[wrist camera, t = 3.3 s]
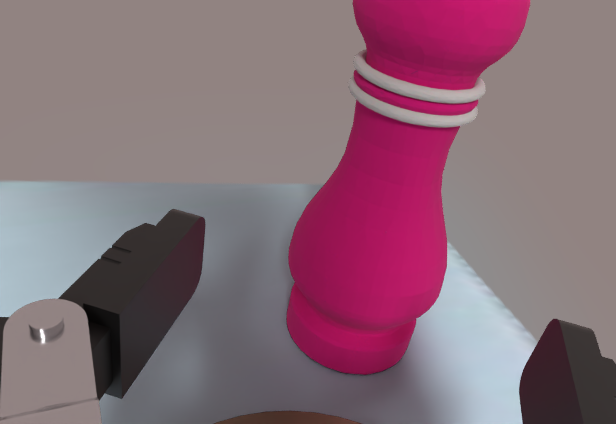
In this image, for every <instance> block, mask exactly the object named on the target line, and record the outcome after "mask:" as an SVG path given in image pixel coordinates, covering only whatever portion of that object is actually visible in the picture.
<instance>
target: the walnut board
mask: <svg viewBox="0 0 616 424" xmlns="http://www.w3.org/2000/svg"><path fill="white" fill-rule="evenodd" d="M214 424H361V423H358V422H354V421H351V420H348V419H344V418H341V417H337V416H331V415H326V414H320V413H314V412H301V411H273V412H261V413H255V414H248V415H242V416H238V417H234V418H231V419H227V420H224V421H220V422H216V423H214Z"/></svg>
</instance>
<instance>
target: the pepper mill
mask: <svg viewBox="0 0 616 424" xmlns="http://www.w3.org/2000/svg"><path fill="white" fill-rule="evenodd" d="M353 7H354V14H355V19H356V23H357V25H358V27H359V30H360V32H361V33H362V36H363V38H364V41H365V43H366V48H367V49H366V50H363V51H361V52H359V53H358V54H357V55H356V56H355V57H354V61H353V62H354V67H355V69H356V70H355V71H354V76H353V77H352V78H351V79H350V81H349V89H350V92H351V94H352V95H353V96H354V97H355V98H356V107H355V114H354V122H353V127H352V130H351V133H350V137H349V140H348V144H347V147H346V151H345V154H344V156H343V157H342V159H341V161H340V163H339V165H338V167H337V169H336V170H335V171H334V173H333V174H332V176H331V177H330V178H329V180H328V181H327V182H326V183H325V185H324V186H323V187H322V188H321V189H320V190H319V192H318V193H317V194H316V195H315V196H314V198H313V199H312V200H311V201H310V202H309V204H308V205H307V206H306V208H305V210H304V212H303V213H302V215H301V217H300V219H299V221H298V222H297V224H296V227H295V230H294V233H293V236H292V240H291V243H290V247H289V256H288V258H289V267H290V271H291V275H292V277H293V279H294V281H295V283H294V285H293V287H292V291H291V296H290V301H289V305H288V310H287V326H288V330H289V332H290V335H291V337H292V339H293V340H294V342H295V343H296V344H297V346H298V347H299V348H300V350H301V351H303V352H304V353H305V354H306V355H307V356H309V357H310V358H311V359H313V360H314V361H316V362H318V363H319V364H321V365H323V366H325V367H327V368H330V369H333V370H336V371H340V372H343V373H349V374H363V375H367V374H372V373H377V372H381V371H384V370H386V369H388V368H390V367H392V366H393V365H395V364H396V363H397V362H398V361H399V360H400V359H401V358H402V356H403V355H404V353H405V351H406V349H407V347H408V344H409V342H410V339H411V336H412V334H413V331H414V328H415V325H416V318H418V317H420V316H421V315H423V314H424V313H425V312H426V311H428V310H429V309H430V308H431V306H432V305H433V304H434V303H435V301H436V300H437V298H438V296H439V294H440V290H441V287H442V284H443V280H444V276H445V272H446V267H447V237H446V230H445V223H444V215H443V208H442V197H441V186H442V174H443V170H444V166H445V163H446V159H447V155H448V152H449V148H450V146H451V144H452V142H453V140H454V138H455V136H456V134H457V132H458V130H459V128H460V126H463V125H466V124H468V123H470V122H471V121H473V120H474V119H475V117H476V115H477V111H478V110H477V104H478V99H479V98H481V97H482V96H483V95H484V93H485V90H486V88H485V84H484V82H483V80H482V79H481V78H480V77H479V76H480V74H481V73H482V72H483V71H484V70H485V69H486V68H487V67H489V66H490V65H492V64H493V63H495V62H496V61H498V60H499V59H501V58H502V57H503V56H504V55H505V54H507V53H508V52H509V51H510V50H511V49H512V48H513V47H514V45H515V44H516V43H517V41H518V39H519V37H520V35H521V33H522V31H523V29H524V26H525V22H526V18H527V14H528V11H529V7H530V0H353Z"/></svg>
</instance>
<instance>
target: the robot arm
mask: <svg viewBox="0 0 616 424" xmlns="http://www.w3.org/2000/svg"><path fill="white" fill-rule="evenodd" d="M204 236H205V219H204V218H203V217H200V216H197V215H193V214H190V213H186V212H183V211H179V210H176V209H172V210H170V211H169V212H168V213H167V214H166V215H165V216H164V217H163V219H162V220H161V221H160V222H159V223H158V224H157V225H156V226H154V225H151V224H147V223H145V224H142V225H140V226H138V227H136V228H134V229H131V230H129V231H127V232H125V233H124V234H123V235H122V236H121V237H120V238H119V239H118V240H117V241H116V242H115V243H114V244H113V245H112V248H109V249H108V250H107V251H106V252H105V253H104V254H103V255H102V256H101V259H98V260H97V261H96V262H95V263H94V264H93V265H92V266H91V267H90V268H89V269H88V270H87V271H86V272H85V273H84V274H83V275H82V276H81V277H80V278H79V279H78V280H77V281H76V282H75V283H74V284H73V285H71V286H70V287H69V288H68V289H67V290H66V291H65V292H64V293H63V294H62V295H61V296H60V297H59V298H58V299H45V300H40V301H36V302H33V303H30V304H28V305H25V306H24V307H22V308H20V309H18V310H17V311H16V312H14V313H13V314H12V315H11V316H10V317H0V424H102V422H101V414H100V406H99V400H100V399H101V397H102V396H103V395H104V393H106V394H109V395H112V396H115V397H118V398H121V399H122V398H123V396H124V395H125V394H126V392H127V391H128V389H129V388H130V386H131V385H132V383H133V382H134V380H135V379H136V377H137V376H138V374H139V373H140V372H141V370H142V369H143V367H144V366H145V364H146V363H147V361H148V360H149V358H150V357H151V355H152V354H153V352H154V351H155V350H156V348H157V347H158V345H159V344H160V342H161V341H162V339H163V338H164V336H165V335H166V333H167V332H168V330H169V329H170V328H171V326H172V325H173V323H174V322H175V320H176V319H177V317H178V316H179V314H180V313H181V311H182V310H183V308H184V307H185V306H186V304H187V303H188V301H189V300H190V298H191V297H192V295H193V294H194V292H195V290H196V288H197V285H198V283H199V280H200V276H201V271H202V261H203V249H204ZM519 395H520V404H521V412H522V420H523V424H616V364H615V363H614V361H613V360H612V359H608V358H605V357H602V356H601V353H600V350H599V347H598V343H597V340H596V337H595V334H594V332H593V330H591V329H589V328H586V327H582V326H579V325H576V324H572V323H569V322H565V321H561V320H558V319H553V320H552V321H551V322H550V323H549V324H548V326H547V328H546V329H545V331H544V333H543V335H542V336H541V338H540V340H539V342H538V344H537V345H536V347H535V349H534V351H533V352H532V354H531V356H530V358H529V360H528V361H527V363H526V365H525V367H524V370H523V372H522V376H521V380H520V387H519Z"/></svg>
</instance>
